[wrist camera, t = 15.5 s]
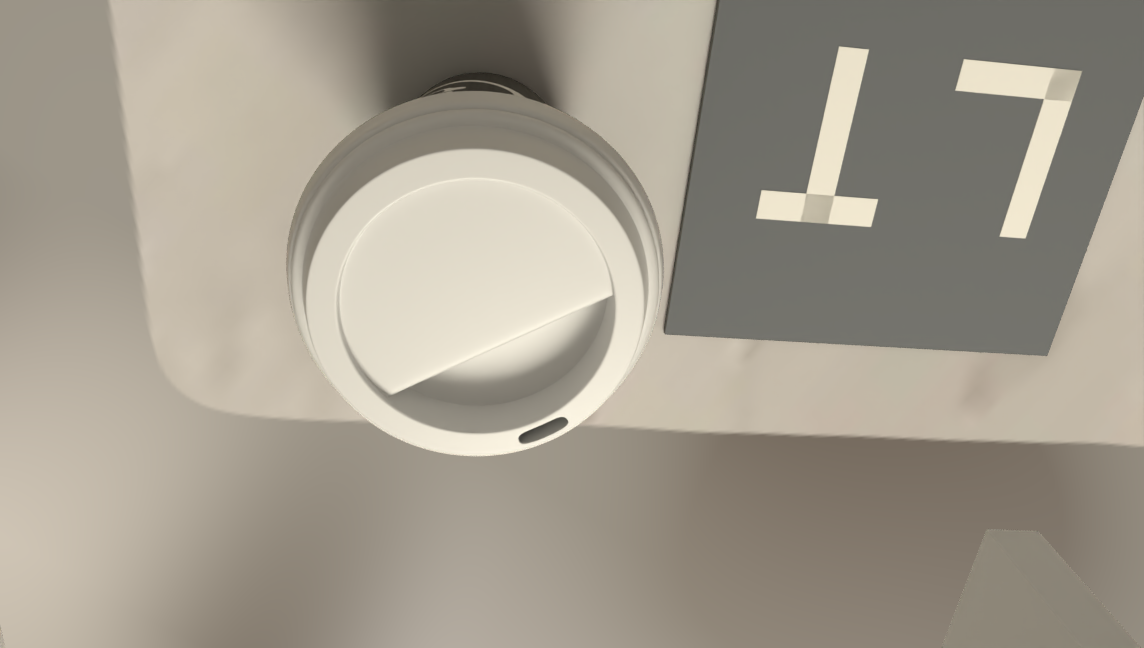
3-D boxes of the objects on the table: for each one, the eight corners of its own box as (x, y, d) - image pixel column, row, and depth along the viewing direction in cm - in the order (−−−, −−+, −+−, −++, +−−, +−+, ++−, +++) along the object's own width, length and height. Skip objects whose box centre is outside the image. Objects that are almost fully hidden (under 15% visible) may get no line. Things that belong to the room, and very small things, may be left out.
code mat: (739, -131, 30) (741, -132, 30) (1200, -73, 32) (1207, -73, 32) (663, 331, 38) (665, 334, 37) (1043, 352, 40) (1047, 356, 39)
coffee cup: (375, 278, 35) (305, 499, 22) (340, 35, 31) (227, 121, 18) (605, 263, 36) (676, 468, 22) (600, 23, 32) (683, 96, 18)
